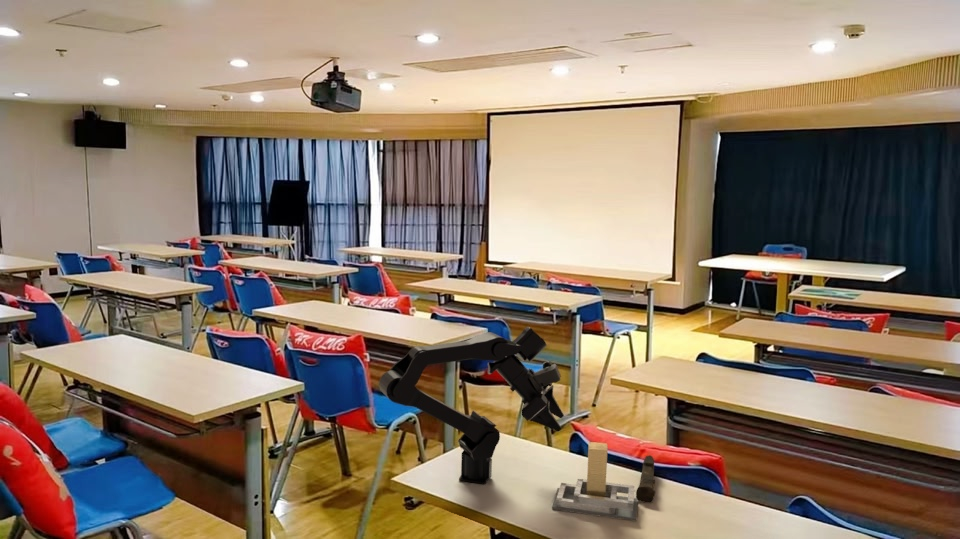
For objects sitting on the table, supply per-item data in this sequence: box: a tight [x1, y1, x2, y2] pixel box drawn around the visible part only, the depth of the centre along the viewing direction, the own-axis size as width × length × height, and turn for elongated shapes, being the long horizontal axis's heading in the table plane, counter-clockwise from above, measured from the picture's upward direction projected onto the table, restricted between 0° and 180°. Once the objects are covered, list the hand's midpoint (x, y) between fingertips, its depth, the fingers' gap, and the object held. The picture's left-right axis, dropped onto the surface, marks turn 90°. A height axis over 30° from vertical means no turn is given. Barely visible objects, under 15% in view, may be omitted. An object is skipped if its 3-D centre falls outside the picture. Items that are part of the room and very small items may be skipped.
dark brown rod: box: [635, 455, 656, 504], centre depth 158 cm, size 19×4×5 cm, turn 161°
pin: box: [586, 441, 608, 497], centre depth 147 cm, size 4×4×13 cm
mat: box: [551, 487, 638, 522], centre depth 147 cm, size 18×10×1 cm, turn 76°
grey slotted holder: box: [556, 478, 635, 515], centre depth 147 cm, size 16×9×3 cm, turn 76°
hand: (561, 423), depth 159 cm, fingers open, 9 cm apart
